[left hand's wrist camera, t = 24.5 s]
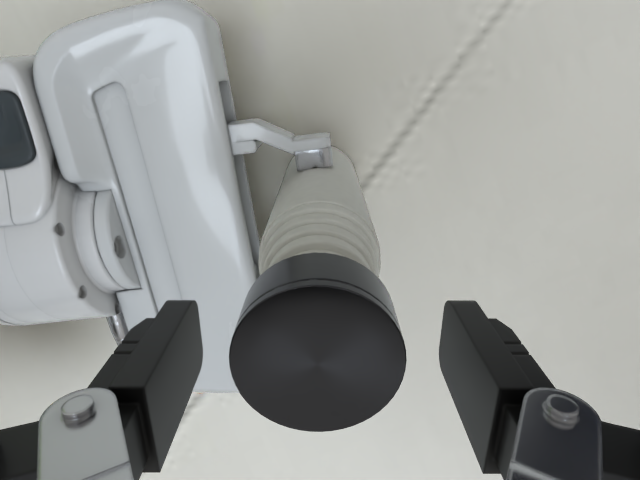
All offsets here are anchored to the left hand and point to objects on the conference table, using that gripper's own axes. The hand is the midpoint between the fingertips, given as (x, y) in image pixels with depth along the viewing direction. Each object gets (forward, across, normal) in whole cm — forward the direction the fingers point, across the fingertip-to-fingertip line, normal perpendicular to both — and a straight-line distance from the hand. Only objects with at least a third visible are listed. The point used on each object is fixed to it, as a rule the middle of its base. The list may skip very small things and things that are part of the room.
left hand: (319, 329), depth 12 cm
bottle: (+17, 0, 0) cm, 17 cm away
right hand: (+11, -1, 0) cm, 11 cm away
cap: (-1, 0, 0) cm, 1 cm away
